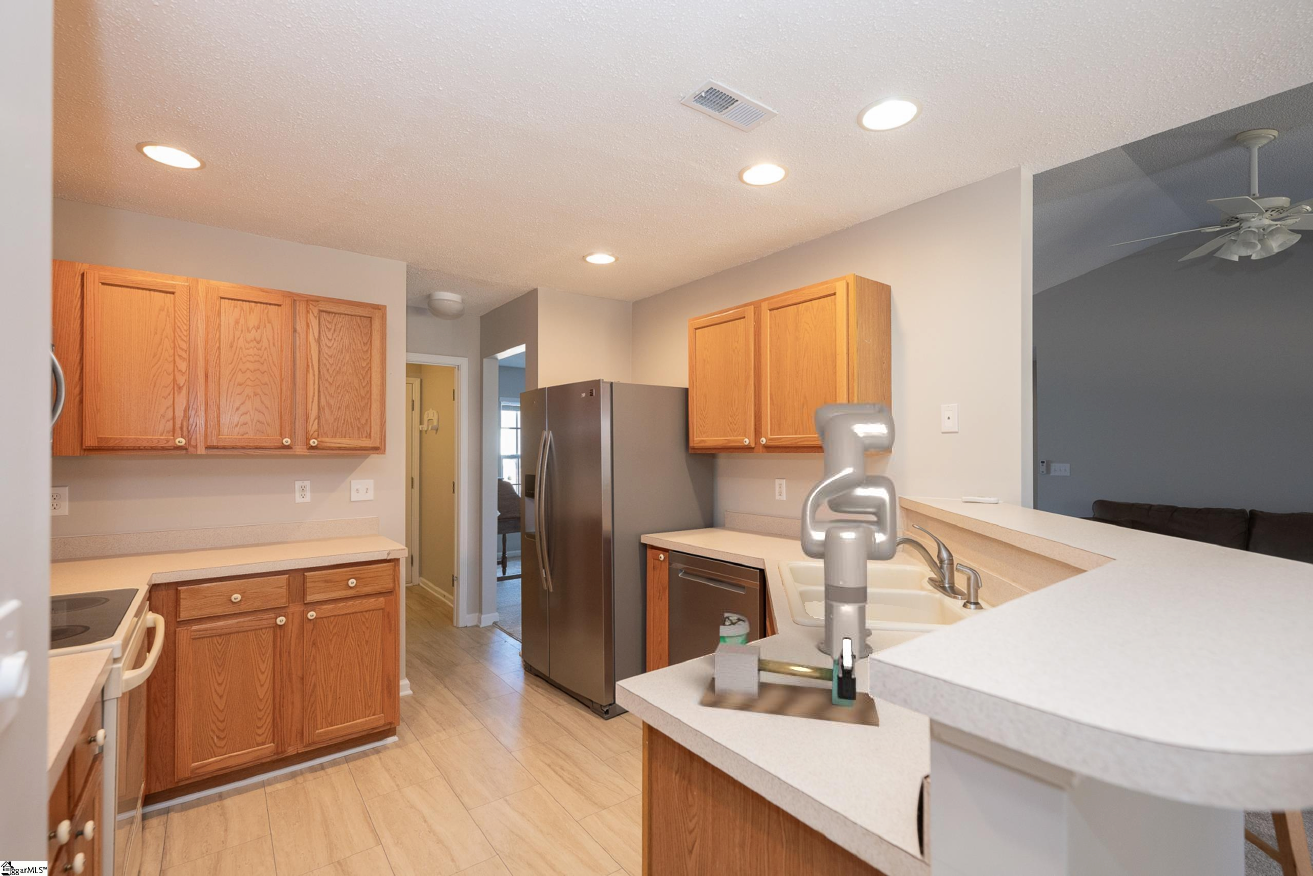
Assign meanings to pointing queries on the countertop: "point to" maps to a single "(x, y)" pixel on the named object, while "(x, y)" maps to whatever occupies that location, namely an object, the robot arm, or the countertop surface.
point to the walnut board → (797, 703)
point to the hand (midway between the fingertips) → (846, 693)
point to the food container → (734, 629)
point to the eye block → (737, 670)
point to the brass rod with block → (807, 674)
